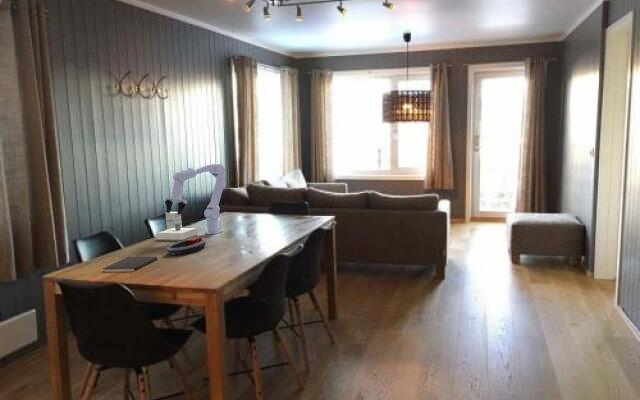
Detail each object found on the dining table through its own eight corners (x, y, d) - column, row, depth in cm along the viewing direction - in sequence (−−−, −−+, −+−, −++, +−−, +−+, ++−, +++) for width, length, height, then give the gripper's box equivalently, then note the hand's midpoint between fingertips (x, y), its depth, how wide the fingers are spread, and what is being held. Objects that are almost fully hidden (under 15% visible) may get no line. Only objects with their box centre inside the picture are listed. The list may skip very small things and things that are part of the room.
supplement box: (166, 231, 359) (164, 213, 357) (173, 229, 366) (171, 211, 364) (175, 231, 356) (174, 213, 354) (182, 229, 363) (180, 211, 361)
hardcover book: (103, 273, 252) (102, 268, 252) (128, 261, 274) (128, 257, 274) (134, 272, 249) (134, 267, 249) (157, 260, 272) (157, 256, 271)
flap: (172, 228, 343) (172, 221, 342) (196, 228, 336) (196, 221, 336) (165, 230, 335) (164, 223, 335) (189, 231, 329) (188, 224, 328)
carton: (173, 235, 343) (172, 228, 343) (197, 235, 337) (196, 228, 336) (157, 240, 328) (156, 232, 328) (182, 240, 322) (181, 233, 321)
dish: (158, 256, 281) (157, 247, 280) (193, 244, 309) (192, 235, 309) (183, 257, 275) (182, 247, 275) (216, 245, 303) (215, 236, 303)
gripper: (163, 189, 324) (159, 211, 324) (183, 192, 319) (179, 214, 319) (170, 190, 331) (166, 212, 330) (190, 193, 326) (186, 215, 325)
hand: (173, 213), depth 325 cm, fingers open, 7 cm apart
